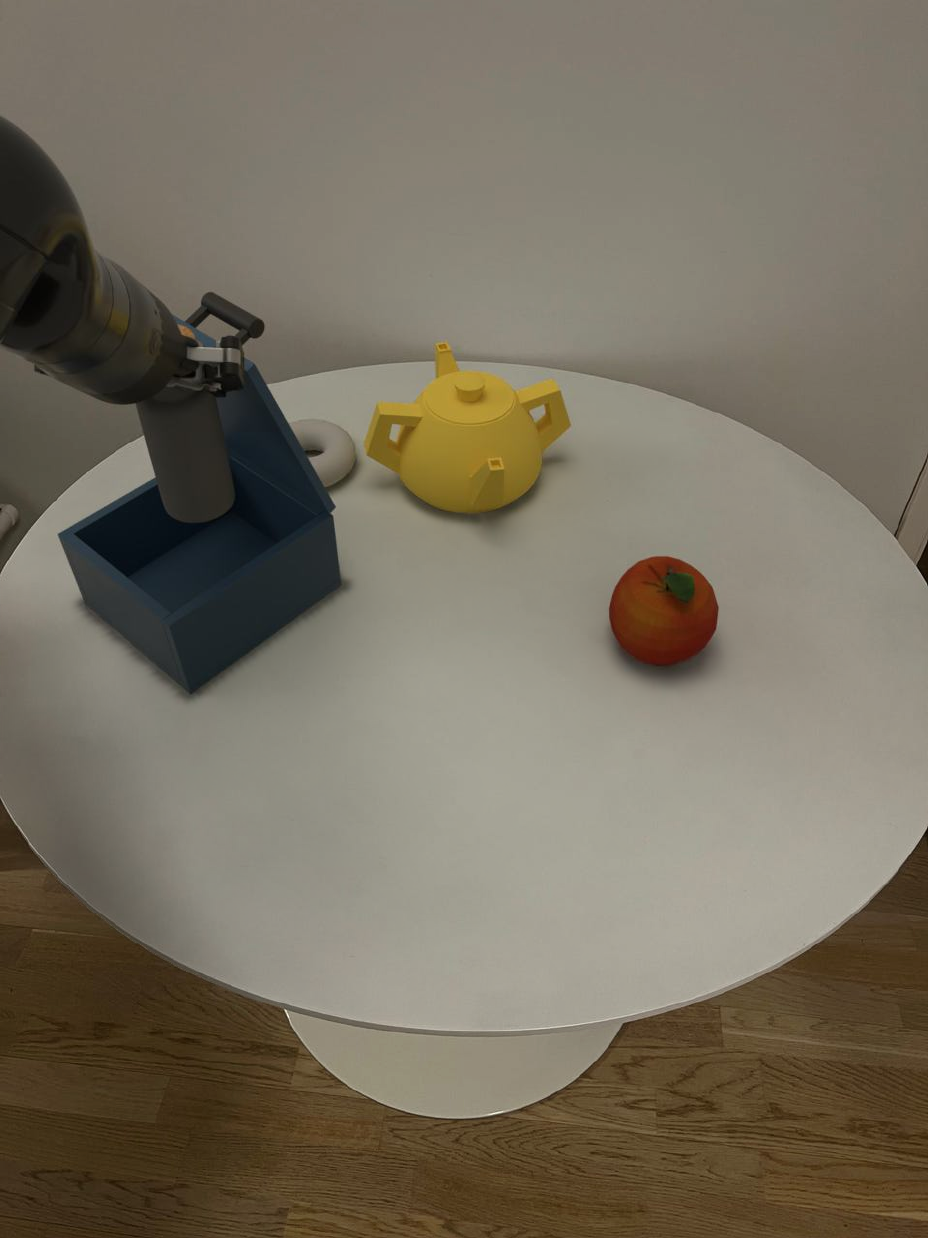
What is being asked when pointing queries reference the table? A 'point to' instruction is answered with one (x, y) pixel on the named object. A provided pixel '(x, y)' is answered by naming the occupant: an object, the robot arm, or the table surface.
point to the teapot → (468, 437)
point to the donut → (326, 448)
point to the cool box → (204, 571)
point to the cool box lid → (258, 410)
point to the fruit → (663, 611)
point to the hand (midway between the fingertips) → (179, 382)
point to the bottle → (188, 452)
